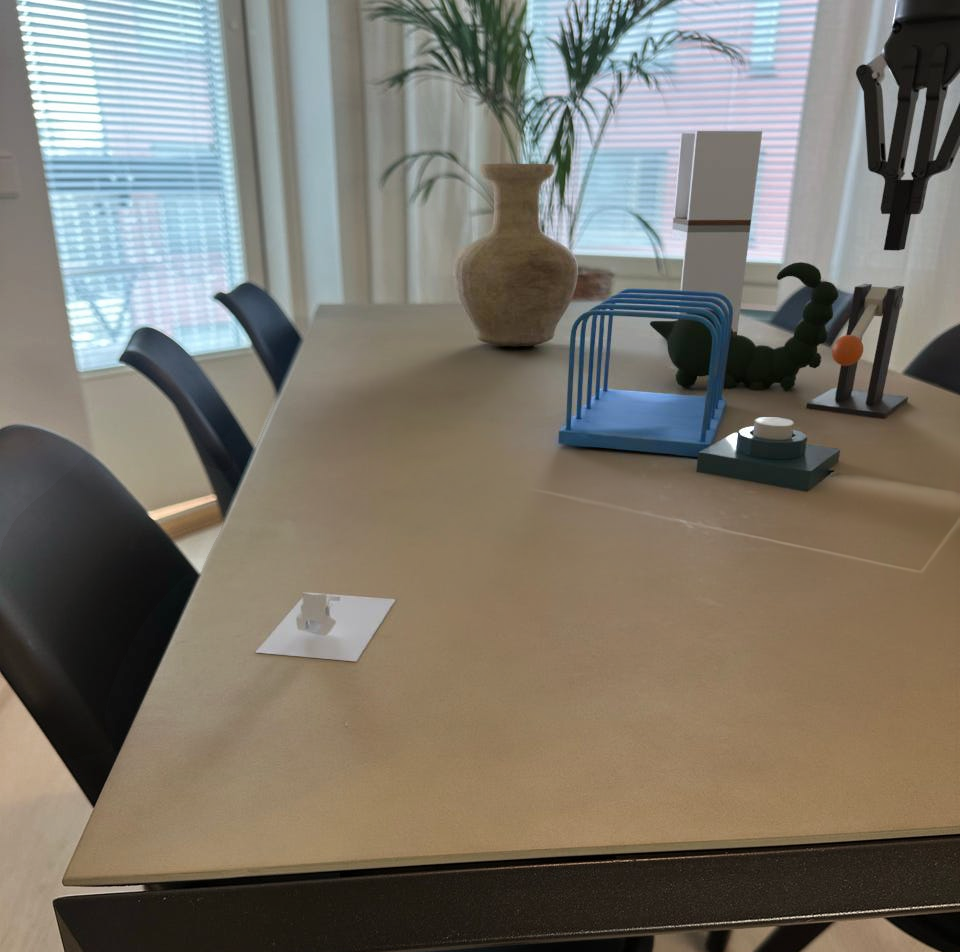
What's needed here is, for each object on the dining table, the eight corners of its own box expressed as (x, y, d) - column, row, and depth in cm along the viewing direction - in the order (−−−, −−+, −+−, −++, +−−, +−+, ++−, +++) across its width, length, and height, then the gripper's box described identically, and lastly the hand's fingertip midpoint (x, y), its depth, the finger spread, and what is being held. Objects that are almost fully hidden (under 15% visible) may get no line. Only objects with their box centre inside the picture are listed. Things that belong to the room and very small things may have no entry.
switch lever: (856, 373, 111) (858, 347, 108) (827, 369, 113) (828, 344, 110) (893, 309, 118) (896, 283, 115) (865, 307, 119) (866, 281, 117)
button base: (837, 469, 99) (843, 432, 97) (807, 492, 92) (814, 453, 90) (731, 451, 105) (736, 416, 103) (696, 472, 98) (700, 435, 96)
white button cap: (796, 436, 97) (799, 420, 96) (784, 444, 94) (786, 427, 93) (760, 431, 99) (762, 415, 98) (746, 438, 96) (749, 422, 96)
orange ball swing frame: (883, 425, 116) (909, 293, 109) (804, 414, 121) (825, 288, 114) (906, 407, 125) (932, 284, 117) (832, 398, 130) (853, 280, 123)
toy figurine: (810, 399, 136) (645, 373, 143) (845, 264, 127) (668, 243, 134) (808, 413, 128) (634, 385, 135) (845, 270, 119) (657, 247, 126)
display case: (719, 334, 182) (742, 133, 166) (736, 342, 172) (762, 131, 156) (663, 334, 181) (680, 133, 165) (676, 343, 171) (696, 131, 156)
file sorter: (708, 461, 102) (725, 316, 95) (557, 448, 106) (562, 309, 99) (725, 411, 123) (740, 290, 116) (598, 402, 127) (605, 285, 120)
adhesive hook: (295, 637, 63) (290, 596, 62) (308, 621, 65) (304, 581, 64) (337, 641, 63) (333, 599, 61) (348, 624, 65) (345, 584, 63)
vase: (513, 360, 156) (516, 163, 142) (429, 344, 171) (425, 164, 157) (599, 345, 169) (609, 163, 156) (515, 331, 184) (517, 164, 170)
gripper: (860, -25, 85) (820, 249, 95) (1017, -44, 78) (955, 254, 89) (880, -13, 90) (840, 245, 101) (1028, -30, 84) (968, 249, 94)
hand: (894, 249), depth 95 cm, fingers closed
